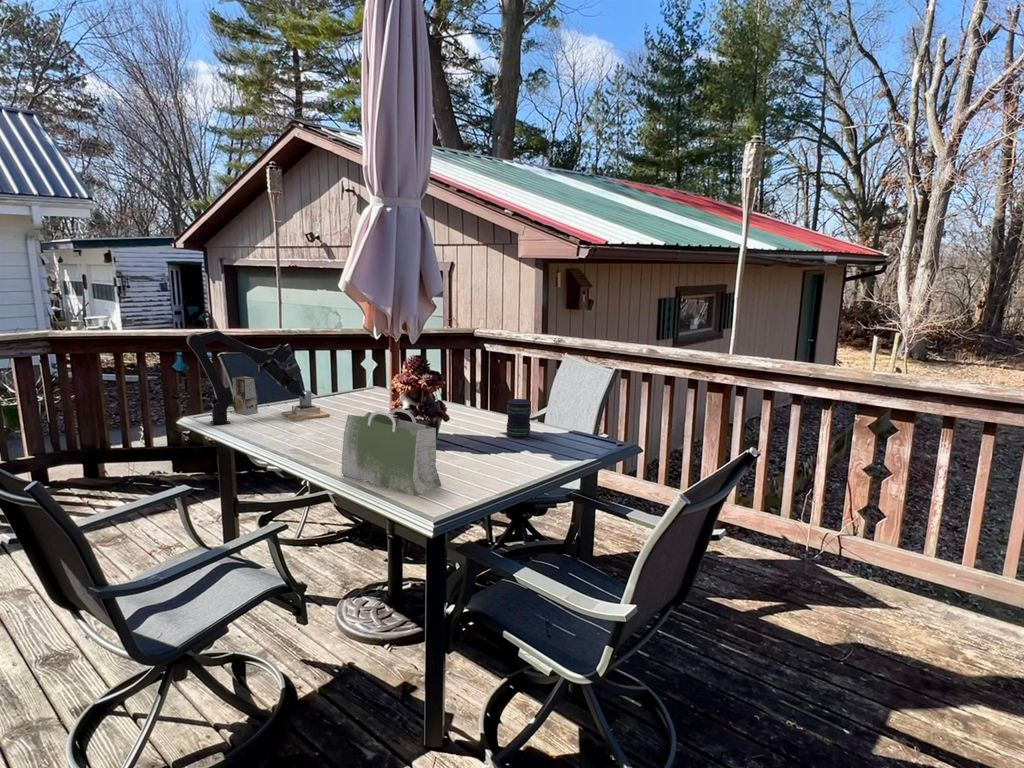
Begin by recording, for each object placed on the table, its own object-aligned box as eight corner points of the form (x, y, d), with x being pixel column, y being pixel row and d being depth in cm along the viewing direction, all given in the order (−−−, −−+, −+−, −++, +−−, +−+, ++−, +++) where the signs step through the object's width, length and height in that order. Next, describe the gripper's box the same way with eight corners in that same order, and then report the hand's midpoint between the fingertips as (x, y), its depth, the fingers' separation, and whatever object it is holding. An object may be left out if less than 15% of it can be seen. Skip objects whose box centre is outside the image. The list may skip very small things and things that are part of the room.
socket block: (282, 414, 286) (281, 405, 285) (316, 410, 296) (316, 401, 295) (295, 421, 273) (294, 412, 273) (330, 416, 283) (330, 408, 283)
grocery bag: (444, 484, 199) (445, 412, 195) (415, 496, 187) (416, 420, 183) (369, 465, 215) (369, 399, 211) (339, 475, 203) (338, 405, 199)
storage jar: (502, 437, 258) (503, 401, 256) (512, 432, 267) (513, 397, 264) (524, 440, 254) (525, 404, 251) (533, 435, 263) (535, 400, 260)
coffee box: (258, 412, 286) (257, 377, 284) (245, 415, 281) (244, 379, 278) (246, 410, 291) (244, 375, 288) (233, 412, 286) (231, 377, 283)
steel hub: (297, 413, 283) (296, 392, 281) (304, 411, 287) (303, 390, 286) (307, 414, 281) (306, 393, 279) (314, 412, 286) (313, 391, 284)
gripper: (294, 360, 269) (320, 384, 276) (283, 355, 284) (308, 378, 292) (275, 379, 266) (302, 403, 274) (265, 373, 281) (291, 395, 289)
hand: (301, 394), depth 282 cm, fingers open, 9 cm apart
